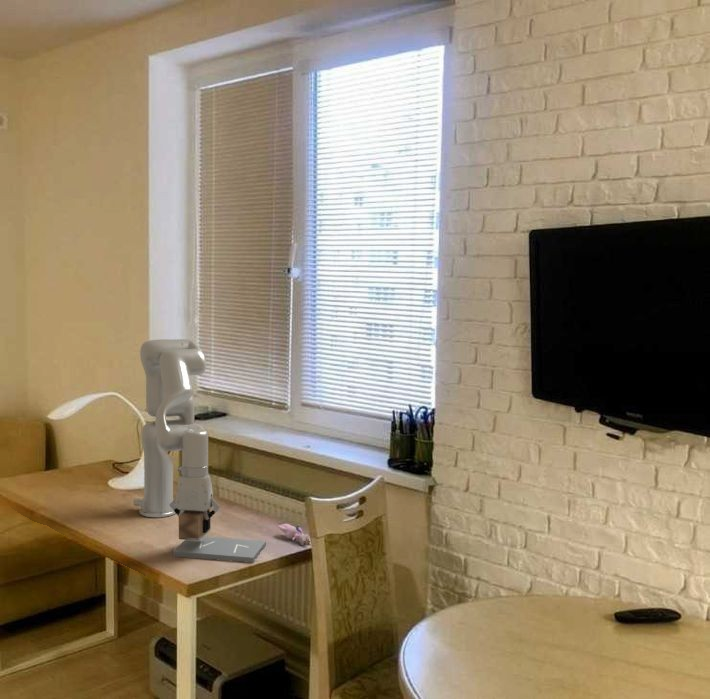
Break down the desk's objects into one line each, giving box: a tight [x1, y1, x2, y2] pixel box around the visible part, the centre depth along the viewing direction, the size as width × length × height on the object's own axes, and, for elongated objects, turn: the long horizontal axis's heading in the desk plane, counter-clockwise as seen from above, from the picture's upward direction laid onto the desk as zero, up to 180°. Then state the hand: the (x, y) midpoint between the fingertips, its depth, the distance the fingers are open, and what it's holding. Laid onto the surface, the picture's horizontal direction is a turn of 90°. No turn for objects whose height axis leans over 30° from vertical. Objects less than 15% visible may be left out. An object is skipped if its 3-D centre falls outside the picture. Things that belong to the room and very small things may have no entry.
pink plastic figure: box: [276, 523, 311, 547], centre depth 242 cm, size 6×6×15 cm
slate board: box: [172, 535, 267, 563], centre depth 230 cm, size 24×14×2 cm, turn 82°
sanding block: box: [178, 507, 212, 541], centre depth 230 cm, size 6×10×7 cm, turn 170°
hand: (195, 530), depth 231 cm, fingers closed on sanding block, 6 cm apart
